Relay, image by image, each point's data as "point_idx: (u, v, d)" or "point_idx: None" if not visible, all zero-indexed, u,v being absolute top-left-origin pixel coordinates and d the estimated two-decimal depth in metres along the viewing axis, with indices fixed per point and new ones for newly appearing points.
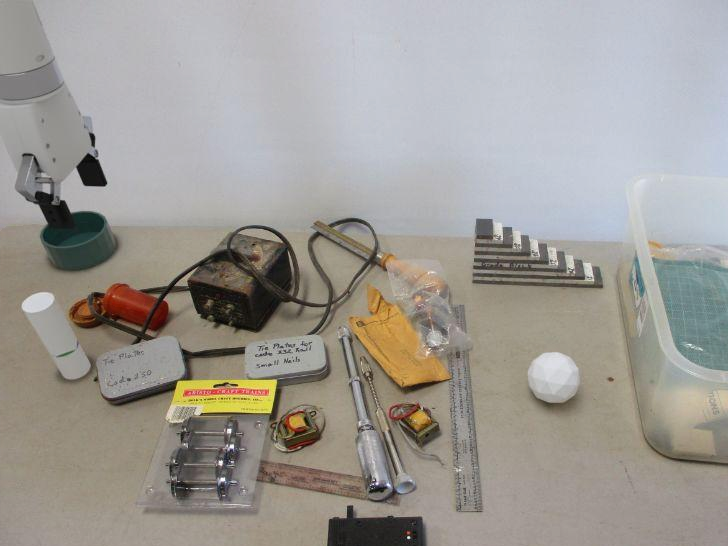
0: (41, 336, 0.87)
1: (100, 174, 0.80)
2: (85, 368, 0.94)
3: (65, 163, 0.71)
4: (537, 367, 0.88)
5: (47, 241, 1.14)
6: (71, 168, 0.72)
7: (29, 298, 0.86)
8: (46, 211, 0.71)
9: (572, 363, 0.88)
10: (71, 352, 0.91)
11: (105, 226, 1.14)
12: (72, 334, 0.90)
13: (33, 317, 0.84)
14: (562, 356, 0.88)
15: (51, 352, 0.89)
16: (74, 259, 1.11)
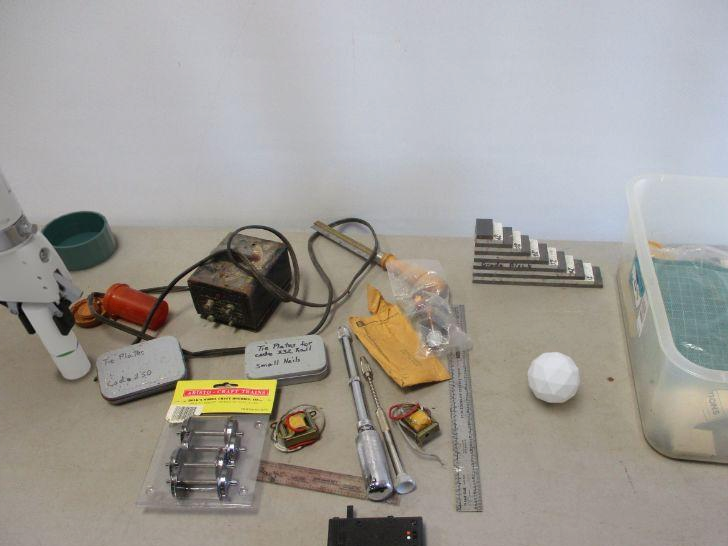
0: (41, 336, 0.87)
1: (58, 326, 0.86)
2: (85, 368, 0.94)
3: (1, 294, 0.81)
4: (537, 367, 0.88)
5: None
6: (12, 299, 0.82)
7: None
8: None
9: (572, 363, 0.88)
10: (71, 352, 0.91)
11: (105, 226, 1.14)
12: (72, 334, 0.90)
13: (33, 317, 0.84)
14: (562, 356, 0.88)
15: (51, 352, 0.89)
16: (74, 259, 1.11)
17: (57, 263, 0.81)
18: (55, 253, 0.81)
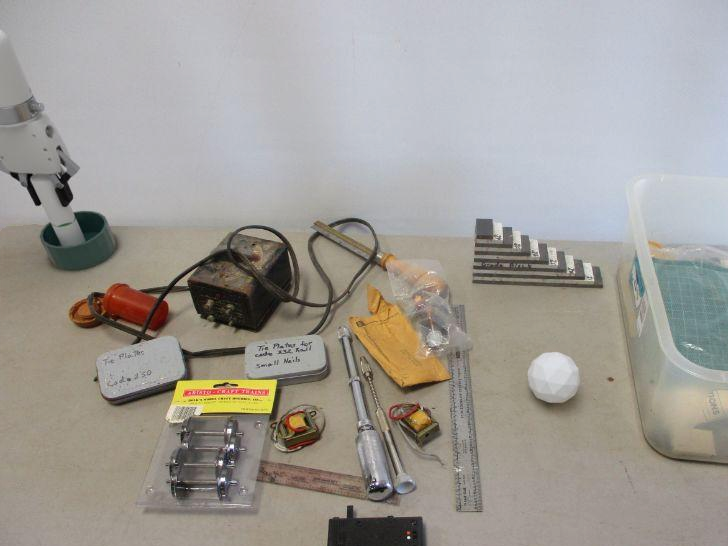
0: (45, 206, 1.08)
1: (59, 198, 1.07)
2: (81, 241, 1.15)
3: (14, 165, 1.02)
4: (537, 367, 0.88)
5: (47, 241, 1.14)
6: (23, 171, 1.03)
7: (36, 174, 1.06)
8: None
9: (572, 363, 0.88)
10: (69, 224, 1.12)
11: (105, 226, 1.14)
12: (70, 208, 1.11)
13: (40, 187, 1.05)
14: (562, 356, 0.88)
15: (53, 222, 1.10)
16: (74, 259, 1.11)
17: (59, 141, 1.02)
18: (58, 133, 1.02)
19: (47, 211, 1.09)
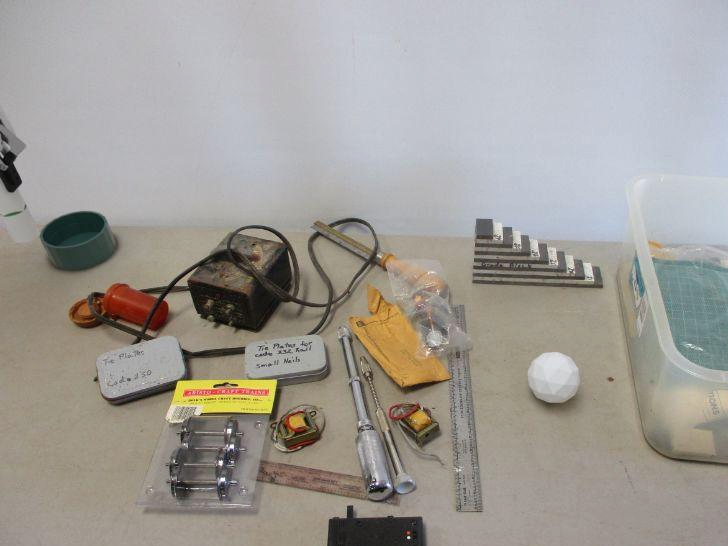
0: None
1: None
2: (34, 233, 0.99)
3: None
4: (537, 367, 0.88)
5: (47, 241, 1.14)
6: None
7: None
8: None
9: (572, 363, 0.88)
10: (18, 213, 0.95)
11: (105, 226, 1.14)
12: (19, 195, 0.95)
13: None
14: (562, 356, 0.88)
15: None
16: (74, 259, 1.11)
17: None
18: None
19: None
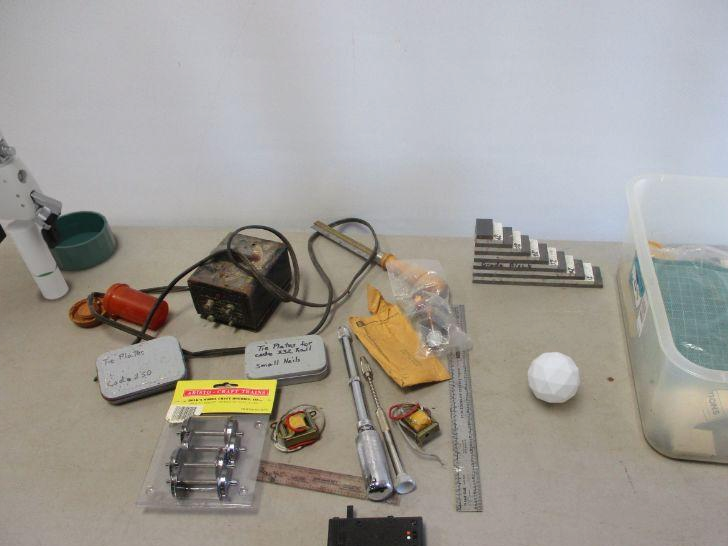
0: (23, 256, 1.00)
1: (45, 239, 0.98)
2: (63, 289, 1.08)
3: None
4: (537, 367, 0.88)
5: None
6: None
7: (13, 222, 0.99)
8: None
9: (572, 363, 0.88)
10: (50, 273, 1.04)
11: (105, 226, 1.14)
12: (51, 257, 1.04)
13: (16, 237, 0.98)
14: (562, 356, 0.88)
15: (33, 272, 1.03)
16: (74, 259, 1.11)
17: (33, 185, 0.94)
18: (32, 176, 0.94)
19: (26, 261, 1.01)
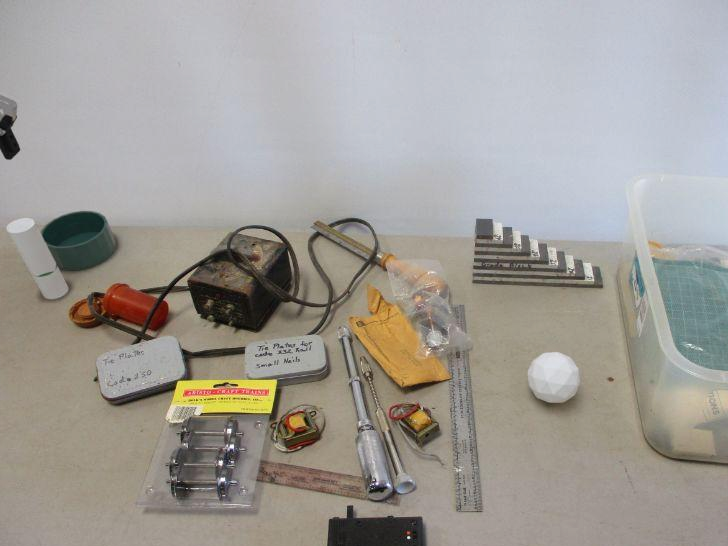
0: (23, 256, 1.00)
1: (0, 148, 0.87)
2: (63, 289, 1.08)
3: None
4: (537, 367, 0.88)
5: (47, 241, 1.14)
6: None
7: (13, 222, 0.99)
8: None
9: (572, 363, 0.88)
10: (50, 273, 1.04)
11: (105, 226, 1.14)
12: (51, 257, 1.04)
13: (16, 237, 0.98)
14: (562, 356, 0.88)
15: (33, 272, 1.03)
16: (74, 259, 1.11)
17: None
18: None
19: (26, 261, 1.01)
